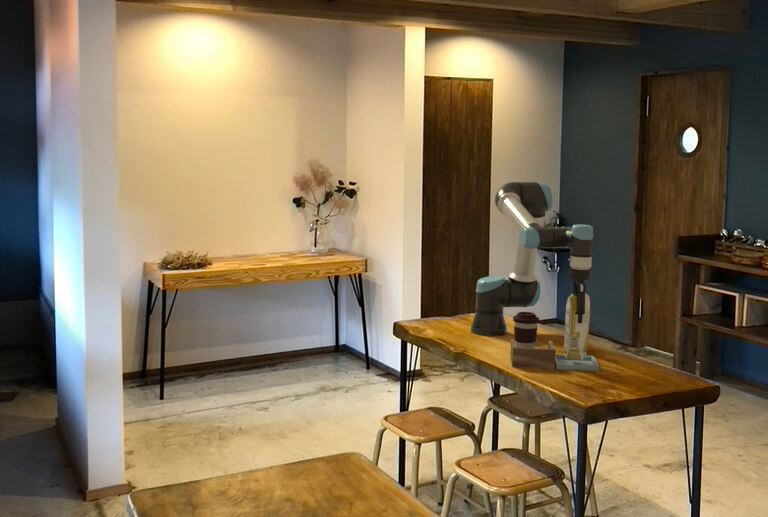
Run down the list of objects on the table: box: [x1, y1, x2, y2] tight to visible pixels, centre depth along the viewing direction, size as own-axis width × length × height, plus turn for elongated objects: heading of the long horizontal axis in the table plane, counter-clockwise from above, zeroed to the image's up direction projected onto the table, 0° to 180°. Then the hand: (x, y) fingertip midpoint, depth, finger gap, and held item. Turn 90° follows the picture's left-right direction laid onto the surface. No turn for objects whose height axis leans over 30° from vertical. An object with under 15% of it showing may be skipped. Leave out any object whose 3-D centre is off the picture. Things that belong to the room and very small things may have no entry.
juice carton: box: [563, 292, 591, 360], centre depth 311 cm, size 9×8×24 cm
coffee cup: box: [512, 311, 540, 348], centre depth 331 cm, size 10×10×15 cm
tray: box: [555, 353, 600, 372], centre depth 313 cm, size 14×15×2 cm
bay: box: [509, 338, 557, 370], centre depth 315 cm, size 14×15×7 cm
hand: (576, 328), depth 312 cm, fingers closed on juice carton, 10 cm apart
